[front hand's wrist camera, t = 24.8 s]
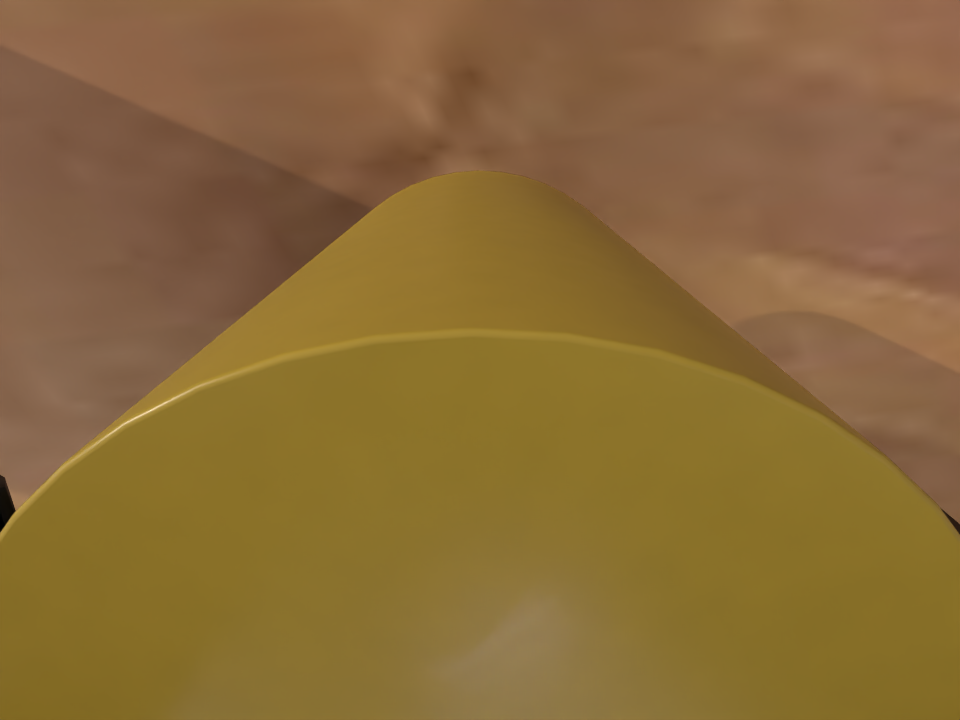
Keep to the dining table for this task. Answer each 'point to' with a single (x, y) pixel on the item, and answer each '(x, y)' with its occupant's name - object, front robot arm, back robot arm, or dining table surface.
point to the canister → (479, 506)
